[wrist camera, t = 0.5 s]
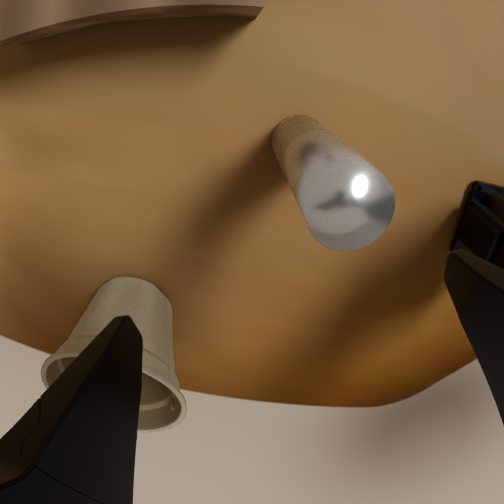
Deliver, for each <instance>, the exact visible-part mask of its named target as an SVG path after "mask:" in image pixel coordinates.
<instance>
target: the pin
mask: <svg viewBox="0 0 504 504" xmlns="http://www.w3.org/2000/svg"><path fill="white" fill-rule="evenodd" d="M272 148H273V151H274V153H275V155H276V157H277V160H278V162H279V164H280V166H281V168H282V170H283V172H284V175H285V177H286V179H287V181H288V183H289V185H290V188H291V190H292V192H293V194H294V196H295V199H296V201H297V203H298V205H299V208H300V210H301V212H302V214H303V217H304V219H305V221H306V224H307V226H308V228H309V230H310V232H311V234H312V236H313V237H314V238H315V239H316V240H317V241H318V242H319V243H320V244H322V245H323V246H325V247H327V248H329V249H332V250H337V251H352V250H356V249H360V248H362V247H365V246H367V245H369V244H370V243H372V242H373V241H375V240H376V239H377V238H378V237H379V236H380V235H381V234H382V233H383V232H384V231H385V230H386V228H387V227H388V225H389V223H390V221H391V219H392V216H393V213H394V209H395V196H394V191H393V188H392V186H391V184H390V182H389V181H388V180H387V178H386V177H385V176H384V175H383V174H382V173H381V172H379V171H378V170H377V169H376V168H375V167H374V166H372V165H371V164H370V163H369V162H368V161H367V160H365V159H364V158H363V157H362V156H361V155H359V154H358V153H357V152H356V151H355V150H353V149H352V148H351V147H350V146H348V145H347V144H346V143H345V142H343V141H342V140H341V139H340V138H338V137H337V136H336V135H335V134H333V133H332V132H331V131H329V130H328V129H327V128H326V127H324V126H323V125H322V124H320V123H319V122H318V121H316V120H315V119H313V118H311V117H309V116H305V115H294V116H290V117H288V118H286V119H284V120H283V121H281V122H280V123H279V124H278V126H277V127H276V128H275V130H274V132H273V136H272Z"/></svg>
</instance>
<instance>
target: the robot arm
mask: <svg viewBox="0 0 504 504" xmlns="http://www.w3.org/2000/svg"><path fill="white" fill-rule="evenodd" d="M477 188H478V189H477ZM455 249H456V250H455ZM444 280H445V284H446V286H447V289H448V291H449V294H450V296H451V298H452V301H453V303H454V306H455V309H456V311H457V314H458V316H459V319H460V321H461V324H462V326H463V329H464V331H465V333H466V335H467V337H468V339H469V341H470V343H471V345H472V348H473V350H474V352H475V354H476V356H477V359H478V361H479V363H480V365H481V368H482V370H483V372H484V375H485V377H486V380H487V382H488V384H489V387H490V389H491V392H492V395H493V397H494V400H495V402H496V405H497V408H498V410H499V413H500V416H501V419H502V422H503V424H504V187H503V186H499V185H495V184H490V183H486V182H481V181H475V182H474V183H473V185H472V187H471V191H470V194H469V197H468V200H467V203H466V206H465V209H464V212H463V215H462V218H461V221H460V223H459V226H458V229H457V231H456V234H455V237H454V239H453V242H452V245H451V247H450V252H449V254H448V256H447V262H446V267H445V273H444ZM142 359H143V338H142V335H141V333H140V331H139V330H138V328H137V326H136V325H135V323H134V321H133V320H132V318H131V317H130V316H129V315H122V316H116V317H115V318H114V319H113V320H112V321H111V322H110V323H109V324H108V325H107V326H106V327H105V328H104V329H103V330H102V331H101V332H100V333H99V334H98V335H97V336H96V337H95V338H94V339H93V340H92V341H91V342H90V343H89V344H88V346H87V347H86V348H85V349H84V350H83V351H82V352H81V353H80V354H79V355H78V356H77V357H76V358H75V359H74V360H73V361H72V363H71V364H70V365H69V366H68V367H67V368H66V369H65V370H64V371H63V372H62V373H61V374H60V376H59V377H58V378H57V379H56V380H55V381H54V382H53V383H52V384H51V385H50V387H49V388H48V389H47V390H46V391H45V392H44V393H43V394H42V395H41V397H40V399H38V400H37V401H36V402H35V403H34V405H33V406H32V407H31V408H30V409H29V410H28V411H27V412H26V413H25V415H24V416H23V417H22V418H21V419H20V420H19V421H18V422H17V423H16V424H15V425H14V426H13V427H12V428H11V429H10V430H9V431H8V432H7V433H6V434H5V435H4V436H3V437H2V438H1V439H0V504H133V482H134V467H135V466H134V465H135V452H136V440H137V429H138V419H139V409H140V400H141V391H142Z"/></svg>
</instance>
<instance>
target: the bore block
mask: <svg viewBox="0 0 504 504" xmlns="http://www.w3.org/2000/svg"><path fill="white" fill-rule="evenodd" d="M263 7H264V0H0V46H2V45H13V44H24V43H27V42H31V41H34V40H38V39H41V38H45V37H49V36H53V35H57V34H61V33H65V32H70V31H74V30H79V29H84V28H89V27H95V26H100V25H107V24H113V23H120V22H128V21H137V20H147V19H159V18H175V17H239V18H257V16H258V15H259V13H260V12H261V10H262V9H263Z"/></svg>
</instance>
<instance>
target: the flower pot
mask: <svg viewBox="0 0 504 504" xmlns="http://www.w3.org/2000/svg"><path fill="white" fill-rule="evenodd" d="M172 314H173V313H172V307H171V304H170V301H169V300H168V299H167V298H166V297H165V296H164V295H163V294H162V293H161V292H160V291H159V289H158V288H157V287H156V286H155V285H153V284H151V283H150V282H147V281H145V280H143V279H139V278H135V277H116V278H113V279H112V280H110V281H108V282H107V283H105V284H103V285H102V286H101V287H100V288H99V289H98V291H97V293H96V294H95V296H94V297H93V299H92V301H91V302H90V304H89V305H88V307H87V308H86V310H85V312H84V313H83V315H82V316H81V318H80V320H79V321H78V323H77V325H76V326H75V328H74V330H73V331H72V333H71V335H70V336H69V338H68V340H67V341H66V342H65V343H63V344H62V345H61V346H60V347H59V348H58V350H57V351H56V353H54V354H52V355H51V356H49V357H48V358H47V359H46V361H45V362H44V364H43V366H42V369H41V376H42V381H43V382H44V385H45V386H46V388H47V389H48V388H49V387H50V385H51V384H52V383H53V382H54V381H55V380H56V379H57V378H58V377H59V376H60V374H61V373H62V372H63V371H64V370H65V369H66V368H67V367H68V366H69V365H70V364H71V363H72V361H73V360H74V359H75V358H76V357H77V356H78V355H79V354H80V353H81V352H82V351H83V350H84V349H85V348H86V347H87V346H88V344H89V343H90V342H91V341H92V340H93V339H94V338H95V337H96V336H97V335H98V334H99V333H100V332H101V331H102V330H103V329H104V328H105V327H106V326H107V325H108V324H109V323H110V322H111V321H112V320H113V319H114V318H115V317H116V316H122V315H129V316H130V317H131V318H132V320H133V321H134V323H135V325H136V326H137V328H138V330H139V331H140V333H141V335H142V338H143V359H142V391H141V400H140V409H139V419H138V429H137V432H155V431H161V430H165V429H168V428H171V427H173V426H175V425H177V424H178V423H180V422H181V421H182V420H183V419H184V417H185V415H186V409H187V405H186V400H185V398H184V396H183V394H182V393H181V392H180V385H179V381H178V379H177V377H176V375H175V363H174V348H173V328H172Z"/></svg>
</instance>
